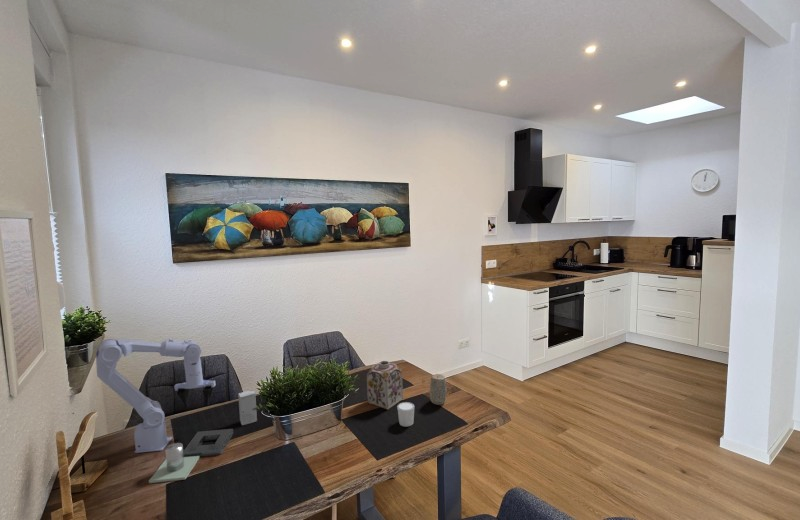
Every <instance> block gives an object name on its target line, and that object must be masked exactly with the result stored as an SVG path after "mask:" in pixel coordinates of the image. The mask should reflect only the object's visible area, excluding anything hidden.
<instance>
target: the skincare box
mask: <svg viewBox="0 0 800 520" xmlns="http://www.w3.org/2000/svg"><path fill="white" fill-rule="evenodd" d="M237 395H238V409H239V422H240V424H241V426H245V425H249V424H252V423H255V422H258V418H257V417H258V416H257V400H256V392H255V390H254V389H251V390H246V391H243V392H239V393H238V394H237Z"/></svg>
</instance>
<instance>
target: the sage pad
mask: <svg viewBox="0 0 800 520" xmlns="http://www.w3.org/2000/svg"><path fill="white" fill-rule="evenodd" d="M200 457H201V456H192V457H184V466H183V468H181V469H180V470H178V471H175V472H168V471H167V464H166V459H165V460H164V461H163V463H162V464H161V465H160V466H159V468H157V470H156V471H155V472H154V474H152V476H151V478H149V480H148V484H152V483H153V484H154V483H164V482H173V481H174V482H175V481H182V480H186V479H187V477H189V474H190V473H191V471H192V470H194V469H193V468H194V467H195V465H197V462H199V460H200Z"/></svg>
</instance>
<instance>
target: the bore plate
mask: <svg viewBox="0 0 800 520" xmlns="http://www.w3.org/2000/svg"><path fill="white" fill-rule="evenodd" d="M233 435H234V429H233V428H228V429H227V428H225V429H216V430H215V429H214V430H203V431H202V430H201V431H197V432H196V434H195V435H193V436H194V437H193V438H192V439H191V440H190V442H189V443H188V444H187V445H186V447H185V448H184V449H183V455H184V457H192V456H199V457H207V456H216V455H222V454H223V452H224V451H225V449H226V447H227V446H228V444H229V442H230V440H231V438H232V436H233ZM207 441H209V442H210V441H215V443H214V444H204V445H203V443H204V442H207Z"/></svg>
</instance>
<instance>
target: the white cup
mask: <svg viewBox="0 0 800 520" xmlns="http://www.w3.org/2000/svg"><path fill="white" fill-rule="evenodd" d="M396 408H397V415H398V423H399V425H400V426H401V427H411V426H412V425H413V424H414V419H415V404H414V403H412V402H407V401H405V402H404V401H403V402H400V403H398V404H397V406H396Z"/></svg>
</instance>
